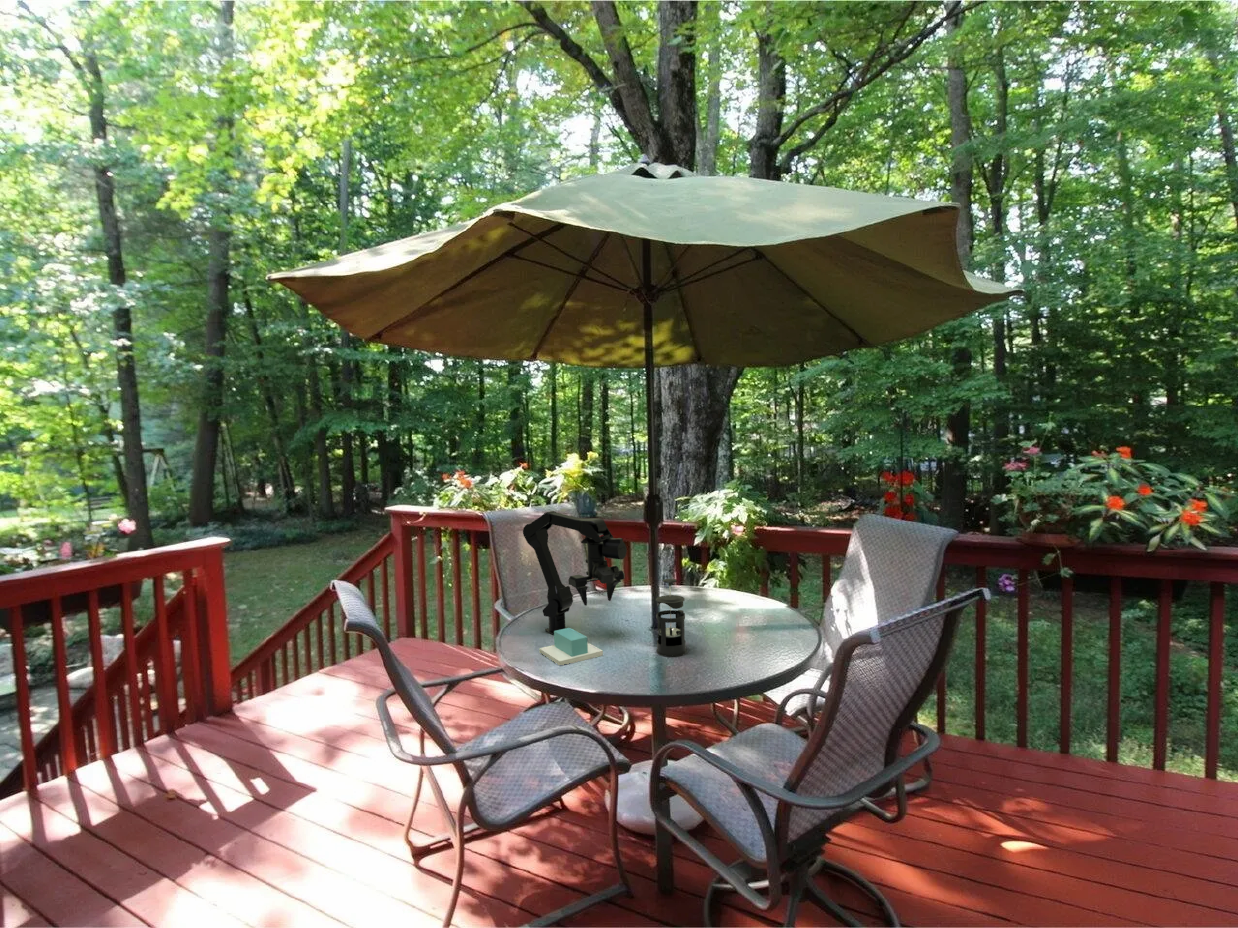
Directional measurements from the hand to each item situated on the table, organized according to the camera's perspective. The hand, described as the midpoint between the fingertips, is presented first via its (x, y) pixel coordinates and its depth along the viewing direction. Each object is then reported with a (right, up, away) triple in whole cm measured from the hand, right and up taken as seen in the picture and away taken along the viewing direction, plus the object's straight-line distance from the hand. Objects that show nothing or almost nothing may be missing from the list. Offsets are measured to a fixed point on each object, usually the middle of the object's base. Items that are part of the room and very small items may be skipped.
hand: (597, 602), depth 222 cm
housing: (-8, -12, -14) cm, 20 cm away
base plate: (-8, -13, -14) cm, 21 cm away
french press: (+24, -13, -14) cm, 30 cm away
